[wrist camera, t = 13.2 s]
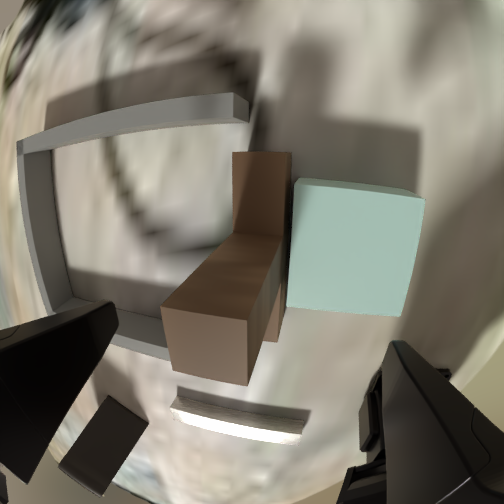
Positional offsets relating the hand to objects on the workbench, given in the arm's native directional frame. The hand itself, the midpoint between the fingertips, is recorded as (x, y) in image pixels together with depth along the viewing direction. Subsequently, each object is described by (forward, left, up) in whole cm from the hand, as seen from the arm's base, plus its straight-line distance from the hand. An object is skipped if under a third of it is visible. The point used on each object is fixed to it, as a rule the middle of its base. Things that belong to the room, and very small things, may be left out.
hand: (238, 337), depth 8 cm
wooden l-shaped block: (+1, 0, -9) cm, 9 cm away
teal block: (-4, -1, -9) cm, 10 cm away
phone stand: (+19, +26, -9) cm, 33 cm away
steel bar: (+3, +17, -9) cm, 20 cm away
